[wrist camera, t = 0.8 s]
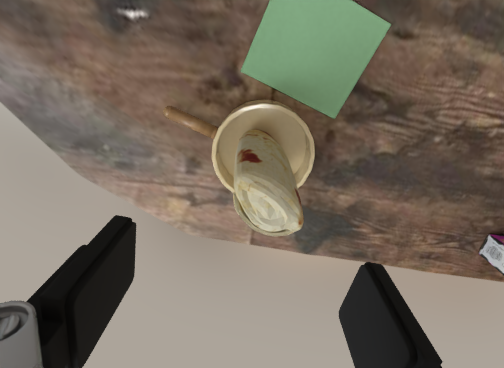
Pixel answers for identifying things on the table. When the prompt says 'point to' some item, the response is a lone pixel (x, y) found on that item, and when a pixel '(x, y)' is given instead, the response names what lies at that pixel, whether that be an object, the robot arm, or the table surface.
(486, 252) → the candy bar box
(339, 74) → the napkin
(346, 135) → the table surface
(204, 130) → the brown rod
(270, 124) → the pan
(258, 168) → the food model
